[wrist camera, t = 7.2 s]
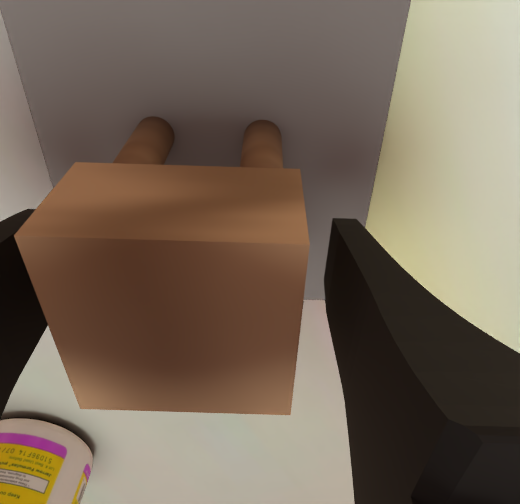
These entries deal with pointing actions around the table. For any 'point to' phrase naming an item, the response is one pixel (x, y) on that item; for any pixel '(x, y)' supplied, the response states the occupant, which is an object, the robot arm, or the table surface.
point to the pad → (218, 87)
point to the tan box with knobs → (174, 276)
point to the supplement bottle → (41, 463)
